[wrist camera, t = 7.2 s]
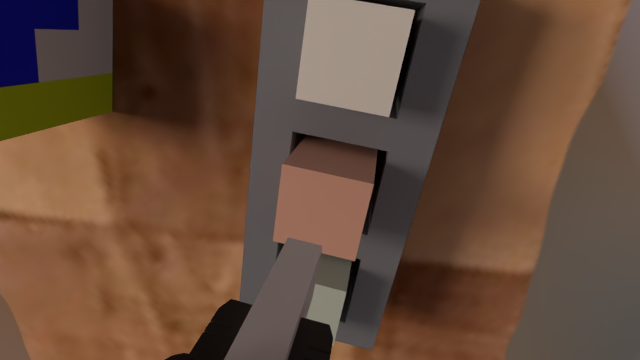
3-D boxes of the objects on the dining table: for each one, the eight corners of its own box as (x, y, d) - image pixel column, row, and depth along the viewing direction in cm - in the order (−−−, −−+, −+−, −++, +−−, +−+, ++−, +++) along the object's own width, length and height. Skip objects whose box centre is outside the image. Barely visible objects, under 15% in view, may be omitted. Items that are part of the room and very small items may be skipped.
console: (298, -43, 23) (269, -68, 17) (466, -17, 22) (491, -36, 16) (263, 268, 33) (238, 313, 28) (375, 297, 32) (371, 350, 27)
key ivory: (333, 6, 22) (309, -8, 16) (407, 19, 22) (415, 9, 15) (321, 81, 24) (295, 98, 17) (389, 94, 24) (389, 117, 17)
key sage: (300, 217, 29) (273, 273, 22) (357, 230, 28) (346, 291, 21) (293, 263, 31) (266, 327, 24) (346, 276, 30) (333, 346, 23)
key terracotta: (312, 129, 25) (282, 163, 18) (378, 142, 24) (373, 184, 17) (302, 188, 26) (272, 240, 20) (364, 202, 26) (354, 261, 19)
